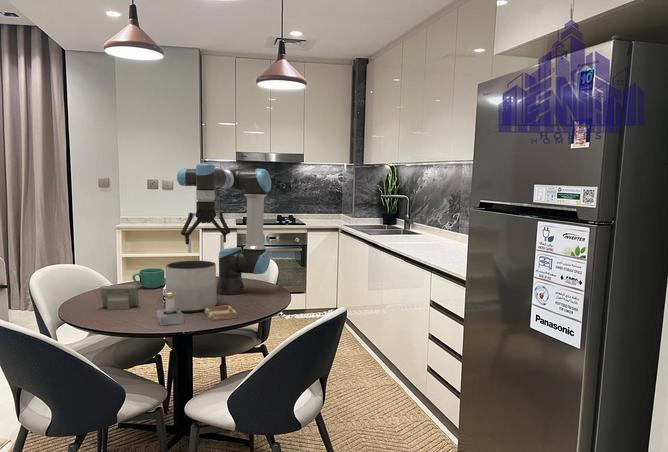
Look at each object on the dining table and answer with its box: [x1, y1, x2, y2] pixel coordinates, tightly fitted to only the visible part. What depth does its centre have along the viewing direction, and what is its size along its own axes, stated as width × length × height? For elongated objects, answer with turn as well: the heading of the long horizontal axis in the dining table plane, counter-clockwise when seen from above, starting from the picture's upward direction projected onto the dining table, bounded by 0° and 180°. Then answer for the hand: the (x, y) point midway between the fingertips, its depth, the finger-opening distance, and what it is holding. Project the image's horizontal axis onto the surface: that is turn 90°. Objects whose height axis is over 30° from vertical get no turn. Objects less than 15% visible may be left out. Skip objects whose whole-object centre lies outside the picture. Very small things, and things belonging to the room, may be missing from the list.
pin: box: [162, 291, 176, 315], centre depth 202 cm, size 5×5×12 cm
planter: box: [165, 260, 218, 313], centre depth 224 cm, size 23×23×20 cm
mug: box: [132, 267, 165, 290], centre depth 263 cm, size 17×13×10 cm
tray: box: [204, 304, 238, 322], centre depth 211 cm, size 14×11×2 cm
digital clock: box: [99, 284, 140, 311], centre depth 221 cm, size 16×9×11 cm, turn 89°
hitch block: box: [156, 308, 185, 327], centre depth 202 cm, size 12×9×4 cm
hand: (206, 251), depth 204 cm, fingers open, 13 cm apart
